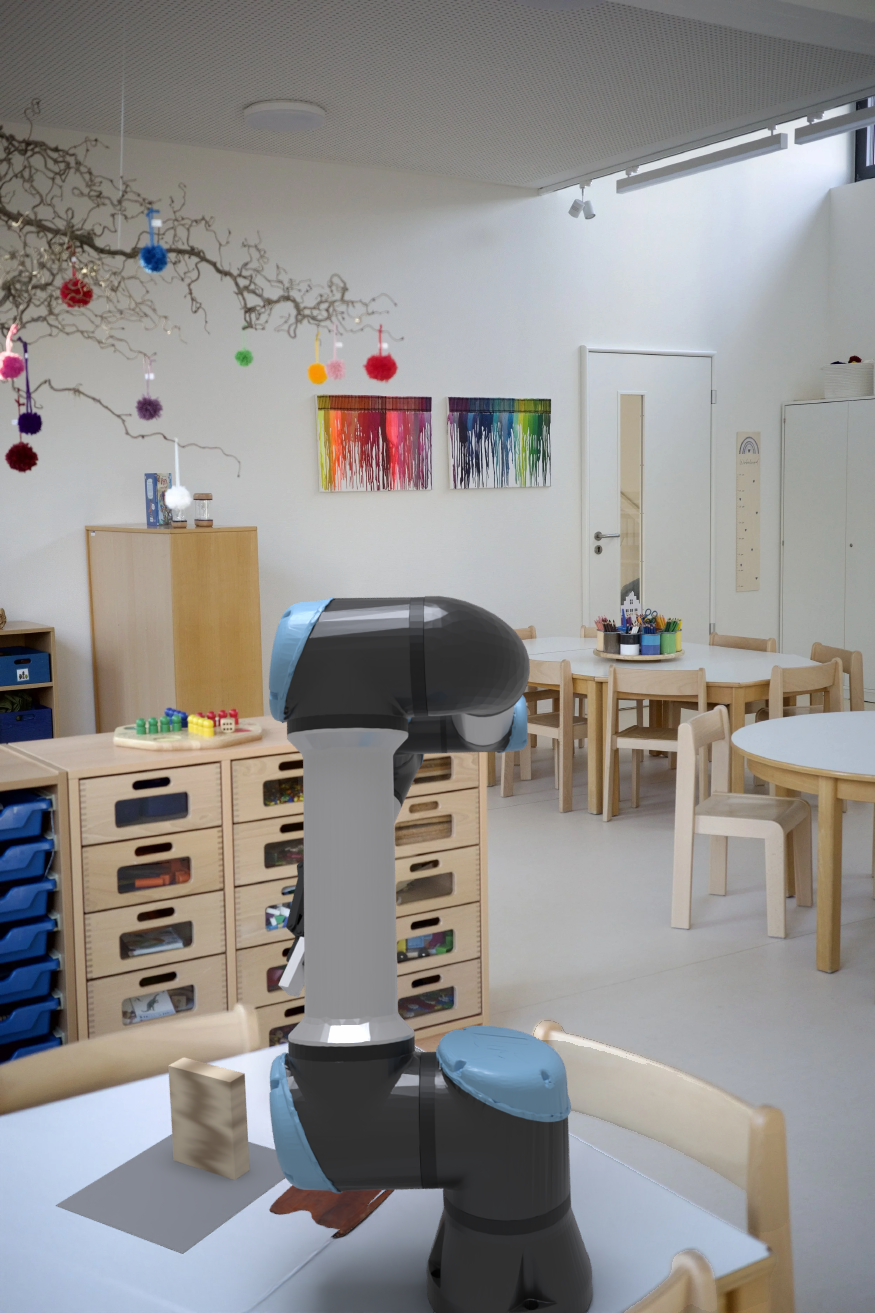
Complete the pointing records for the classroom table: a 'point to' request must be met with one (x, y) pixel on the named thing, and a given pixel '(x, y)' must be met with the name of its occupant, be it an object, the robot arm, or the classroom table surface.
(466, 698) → the robot arm
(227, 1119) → the beech board
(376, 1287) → the classroom table surface
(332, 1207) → the wooden tablet
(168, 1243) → the grey mat
